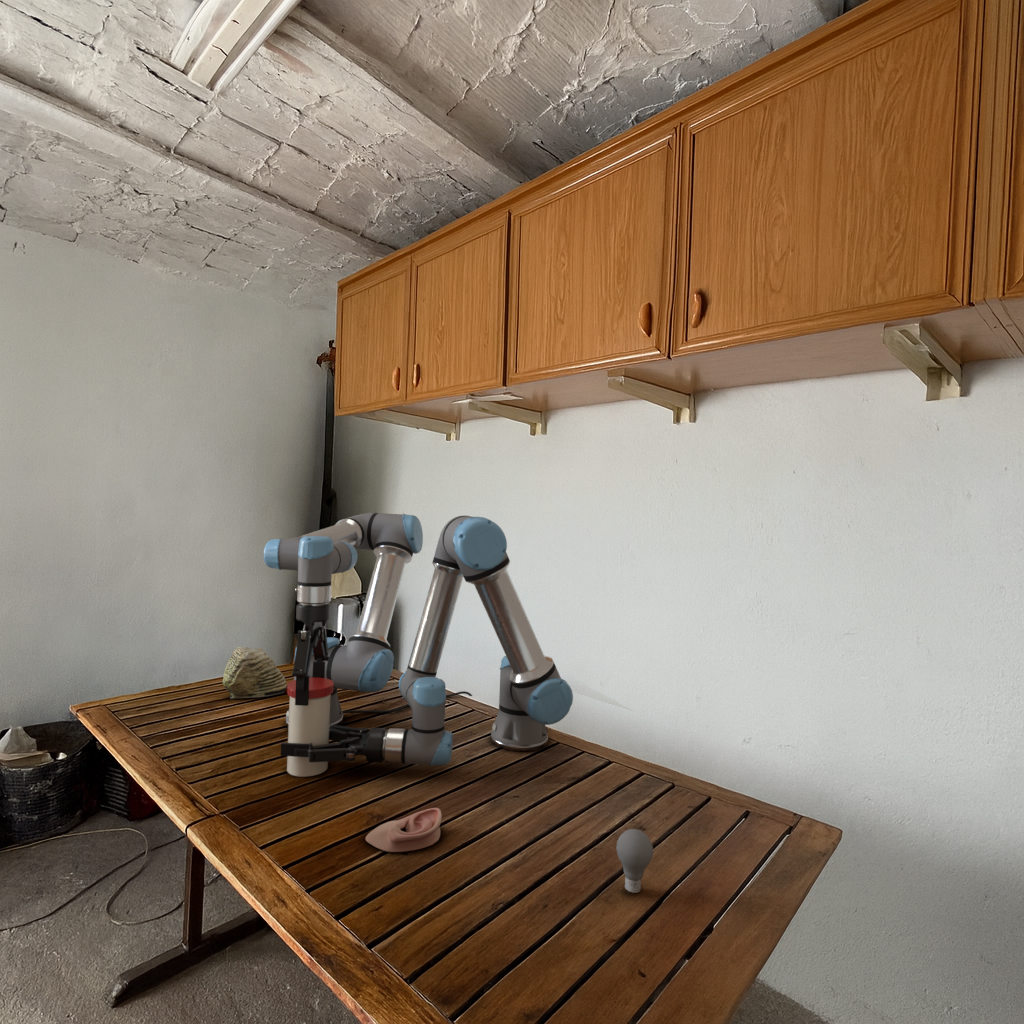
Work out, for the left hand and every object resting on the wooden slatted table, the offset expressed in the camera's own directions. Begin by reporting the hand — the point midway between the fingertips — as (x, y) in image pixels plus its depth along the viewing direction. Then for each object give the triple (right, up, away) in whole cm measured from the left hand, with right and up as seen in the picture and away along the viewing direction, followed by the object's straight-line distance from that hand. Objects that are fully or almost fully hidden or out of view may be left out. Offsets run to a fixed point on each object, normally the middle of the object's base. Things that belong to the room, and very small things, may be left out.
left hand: (310, 696), depth 147 cm
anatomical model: (+27, -18, -28) cm, 43 cm away
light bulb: (+67, -20, -41) cm, 81 cm away
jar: (-1, -17, 0) cm, 17 cm away
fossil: (-34, -14, +51) cm, 63 cm away
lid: (0, +3, 0) cm, 3 cm away
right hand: (-5, -10, 0) cm, 11 cm away
